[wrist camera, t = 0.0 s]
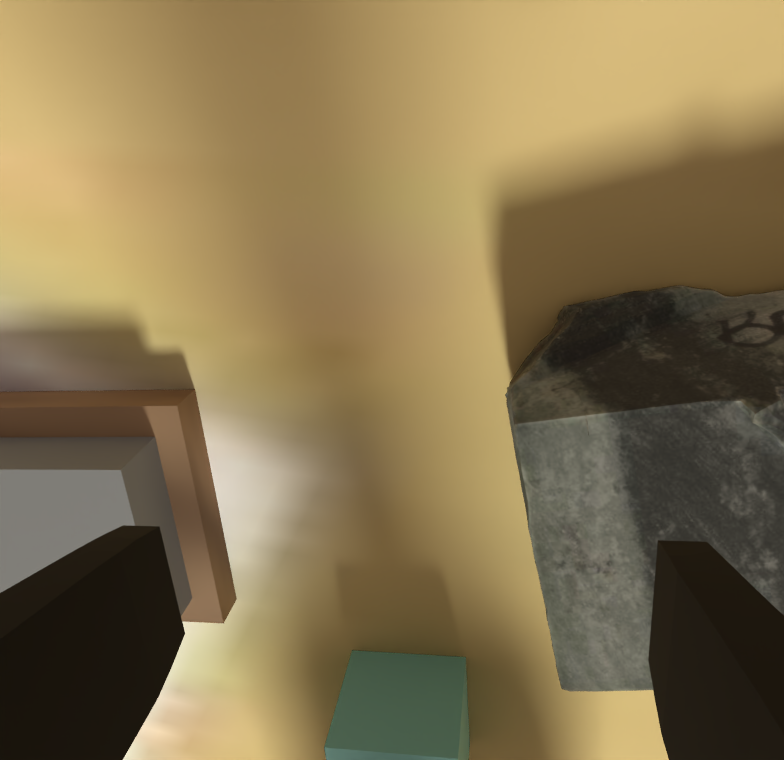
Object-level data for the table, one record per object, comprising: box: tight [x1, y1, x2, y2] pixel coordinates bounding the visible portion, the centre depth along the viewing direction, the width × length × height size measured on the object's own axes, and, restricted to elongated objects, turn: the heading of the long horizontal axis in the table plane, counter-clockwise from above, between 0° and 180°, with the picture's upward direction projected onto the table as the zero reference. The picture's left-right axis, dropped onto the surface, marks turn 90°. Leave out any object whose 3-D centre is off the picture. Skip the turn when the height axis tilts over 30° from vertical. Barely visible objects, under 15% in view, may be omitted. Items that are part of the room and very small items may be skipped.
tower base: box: [0, 389, 236, 623], centre depth 23 cm, size 8×8×2 cm
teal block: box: [324, 650, 470, 760], centre depth 22 cm, size 4×4×4 cm
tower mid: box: [0, 437, 192, 616], centre depth 21 cm, size 6×6×2 cm
